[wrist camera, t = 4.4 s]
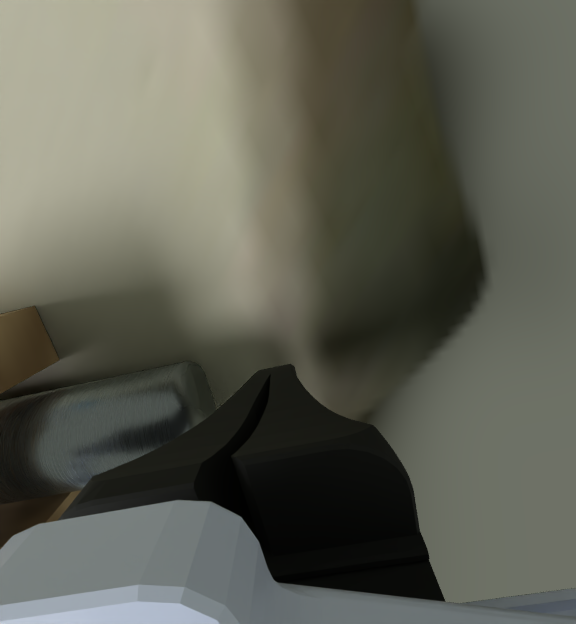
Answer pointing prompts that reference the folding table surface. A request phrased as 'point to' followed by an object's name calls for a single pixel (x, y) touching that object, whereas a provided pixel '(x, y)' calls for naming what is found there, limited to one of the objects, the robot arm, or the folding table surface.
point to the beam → (7, 373)
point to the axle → (95, 427)
